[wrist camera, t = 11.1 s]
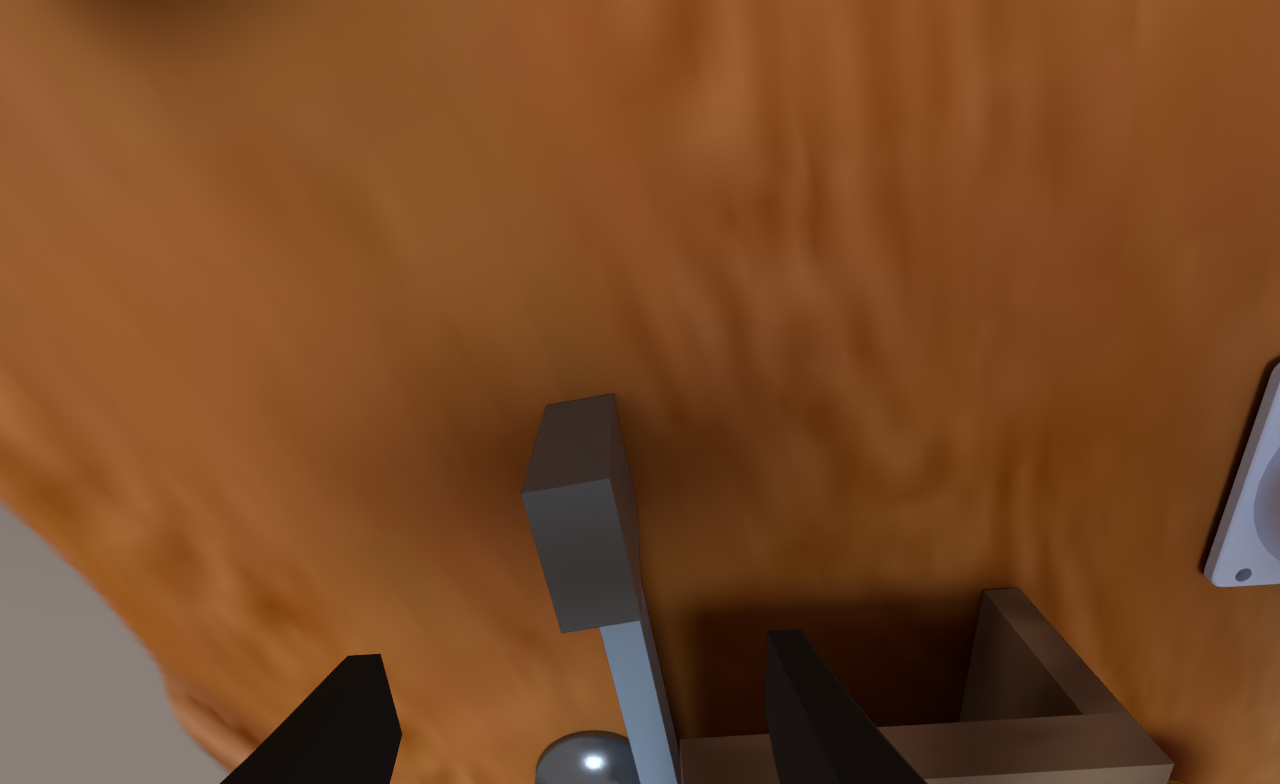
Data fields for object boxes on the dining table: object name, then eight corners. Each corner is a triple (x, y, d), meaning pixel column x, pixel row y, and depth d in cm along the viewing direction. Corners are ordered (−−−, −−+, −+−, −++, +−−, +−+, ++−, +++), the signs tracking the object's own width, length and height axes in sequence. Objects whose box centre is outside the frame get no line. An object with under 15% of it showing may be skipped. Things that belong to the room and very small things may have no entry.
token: (643, 717, 24) (644, 736, 23) (655, 797, 25) (656, 817, 25) (528, 729, 24) (525, 748, 23) (547, 807, 25) (545, 827, 25)
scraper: (613, 393, 18) (609, 478, 14) (707, 836, 26) (726, 989, 21) (546, 405, 18) (520, 493, 14) (659, 843, 26) (668, 997, 21)
